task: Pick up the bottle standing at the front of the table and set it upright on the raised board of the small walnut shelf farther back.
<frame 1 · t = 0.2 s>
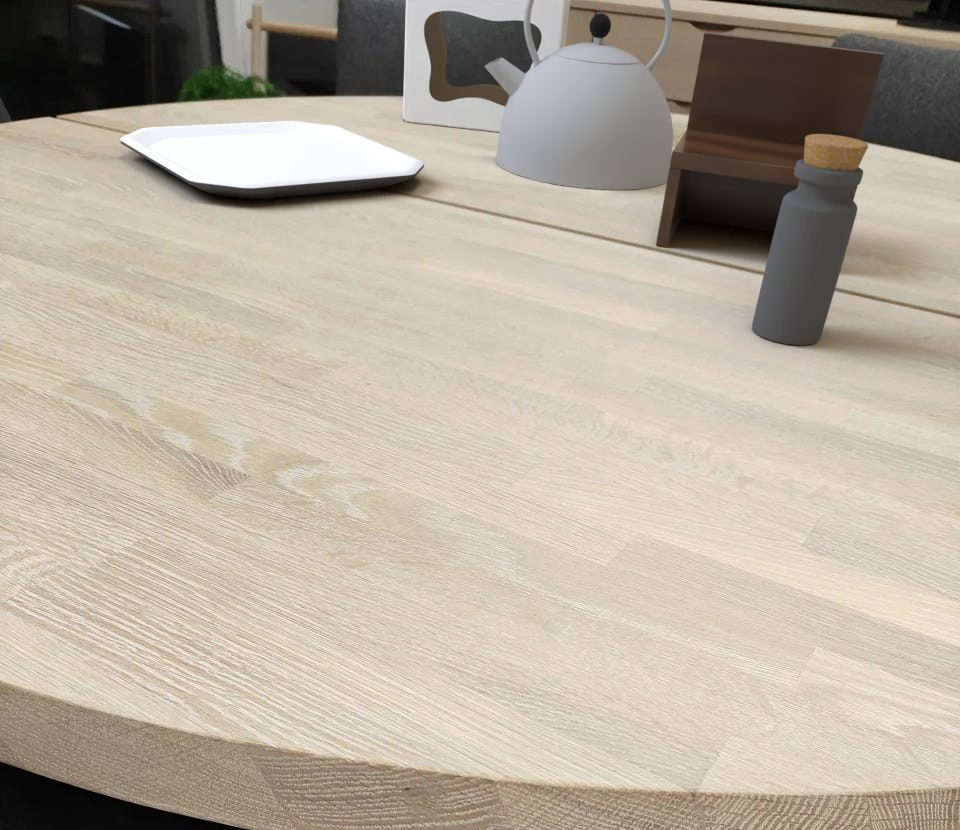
shelf: (747, 241, 107), on the table
bottle: (784, 335, 85), on the table
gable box: (481, 123, 150), on the table
plate: (274, 171, 117), on the table
kettle: (573, 168, 130), on the table
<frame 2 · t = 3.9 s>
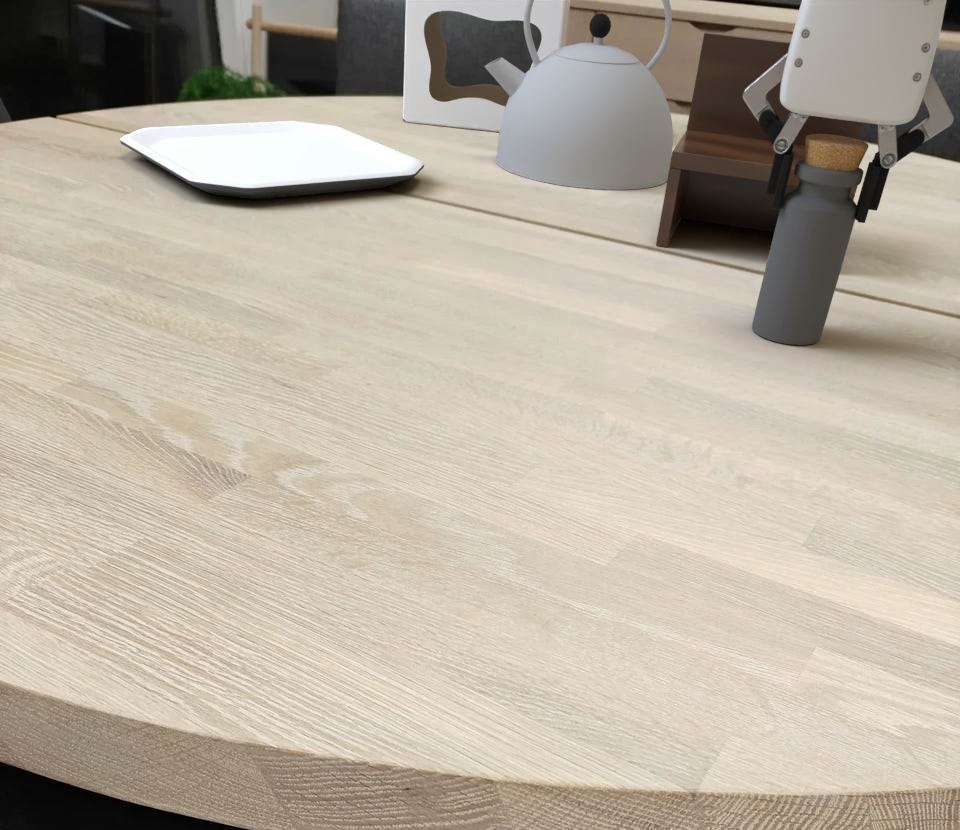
hand: (818, 210, 79), 10 cm above the table, tool pointing down, fingers closed on bottle, 5 cm apart
bottle: (784, 335, 85), on the table, touching gripper
everything else where it was.
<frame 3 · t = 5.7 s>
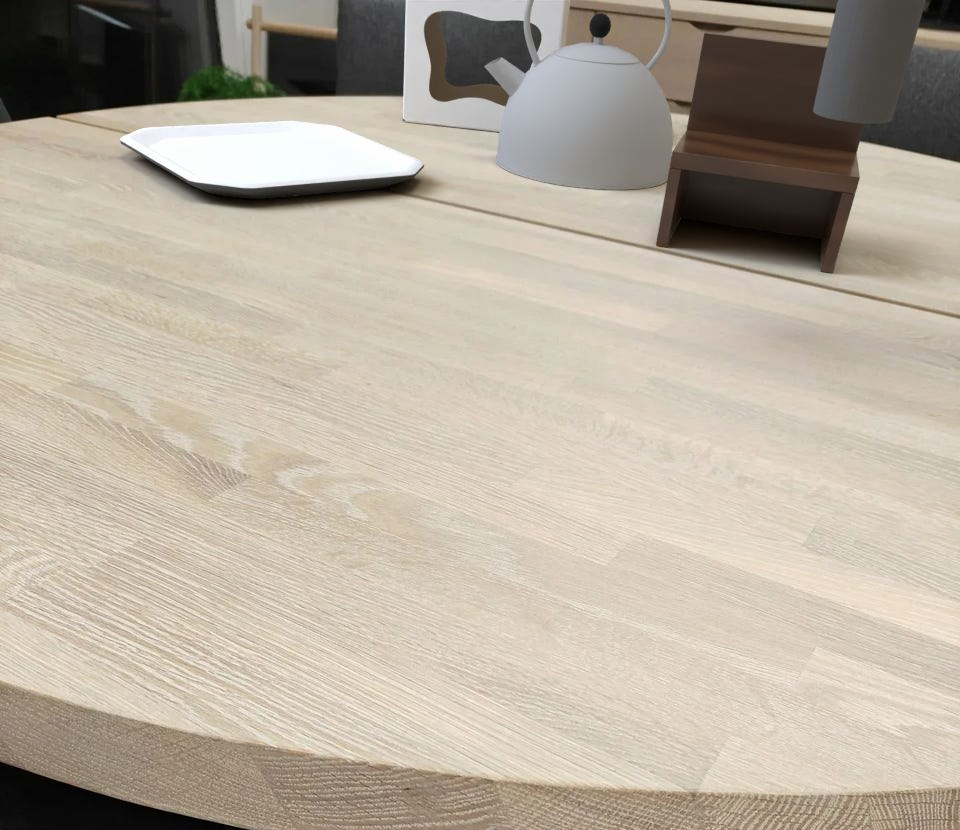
bottle: (851, 119, 75), point 16 cm above the table, touching gripper
everything else where it was.
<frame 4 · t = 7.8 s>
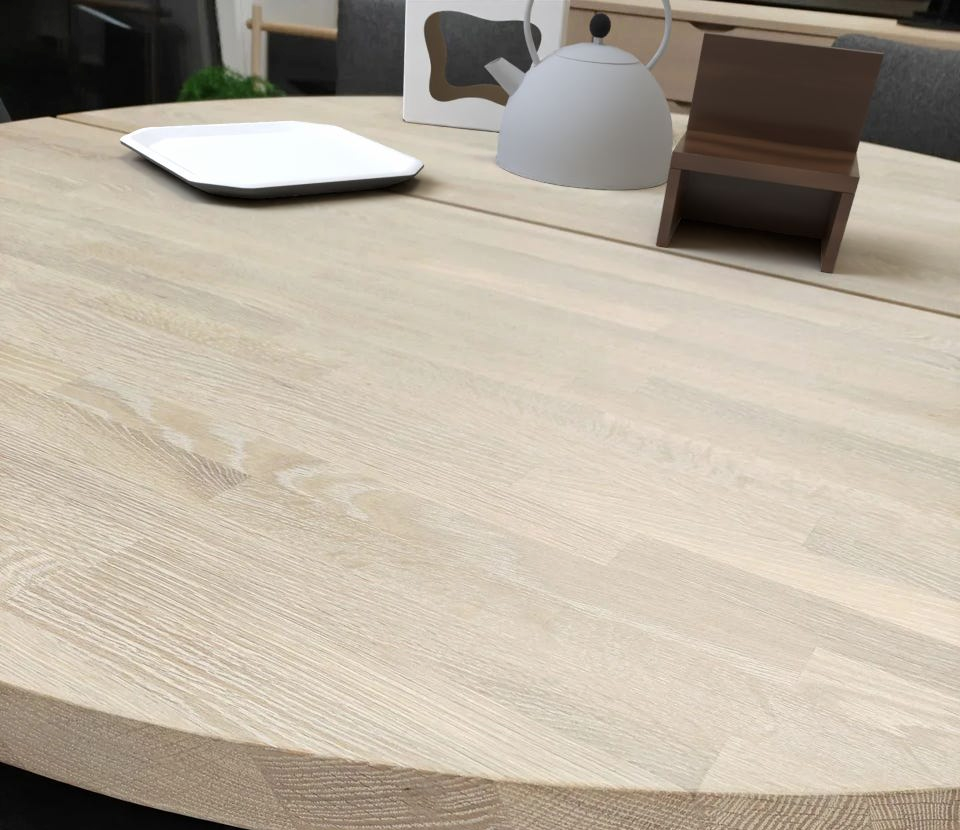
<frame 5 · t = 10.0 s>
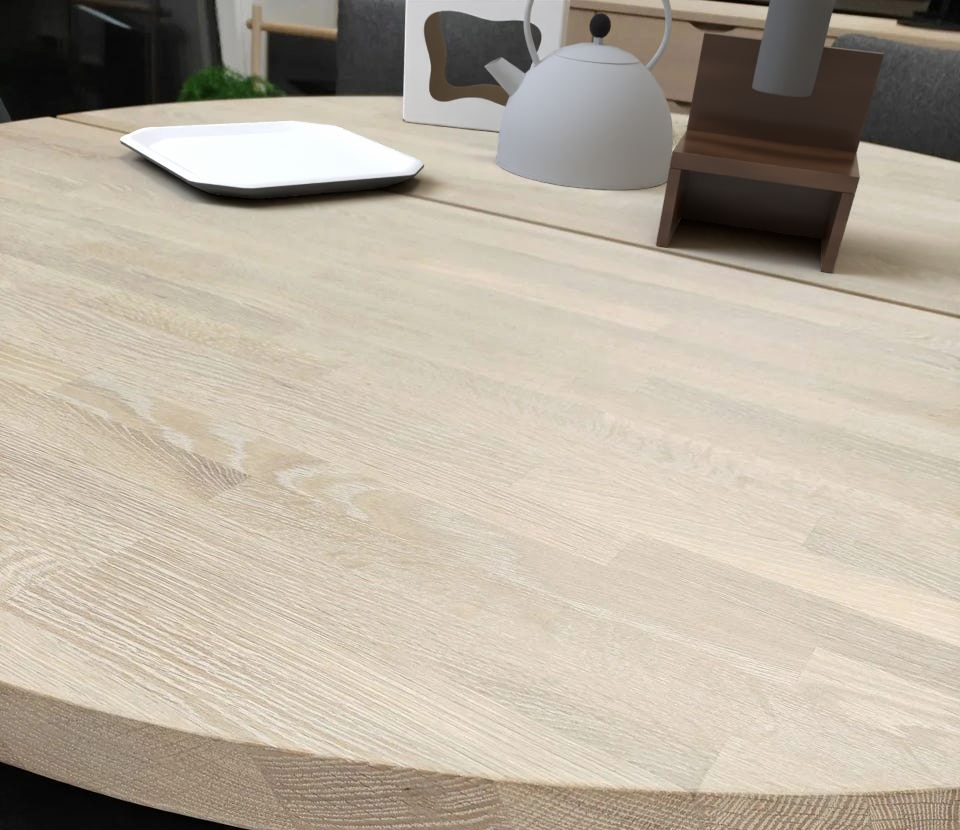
bottle: (780, 93, 98), point 14 cm above the table, touching gripper
everything else where it was.
when the fingers open (19 cm above the table, at t = 11.8 s): bottle stays where it is, resting on shelf.
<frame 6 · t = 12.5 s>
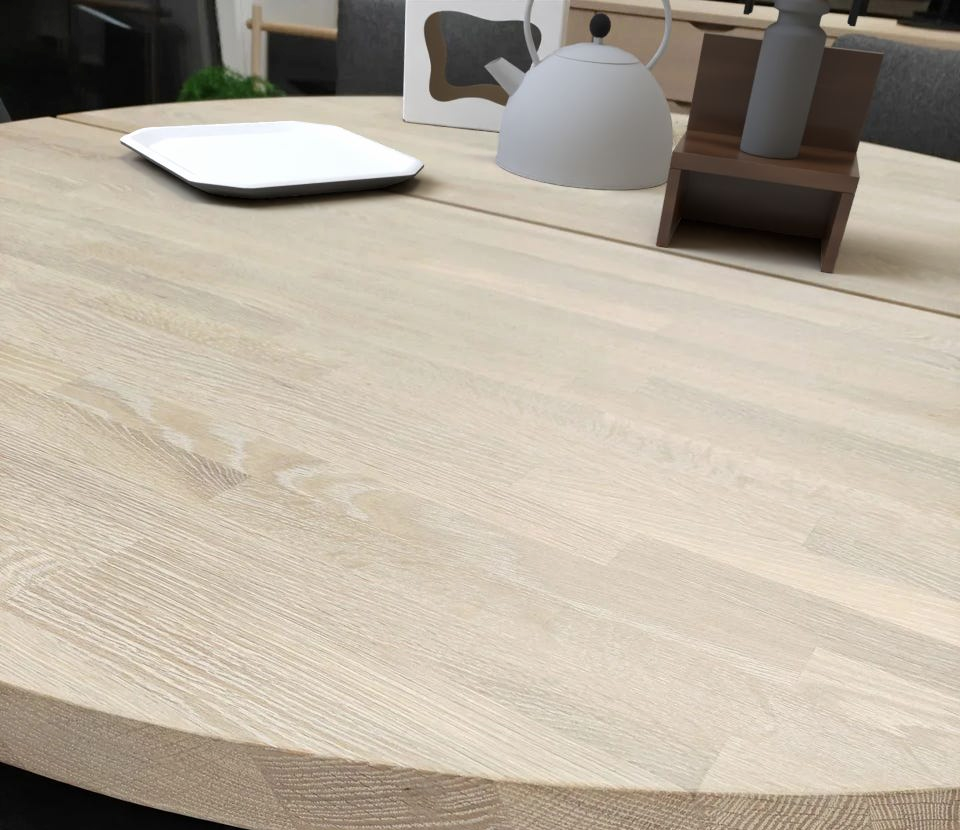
hand: (798, 19, 94), 21 cm above the table, tool pointing down, fingers open, 9 cm apart
bottle: (767, 154, 101), point 9 cm above the table, touching shelf
everything else where it was.
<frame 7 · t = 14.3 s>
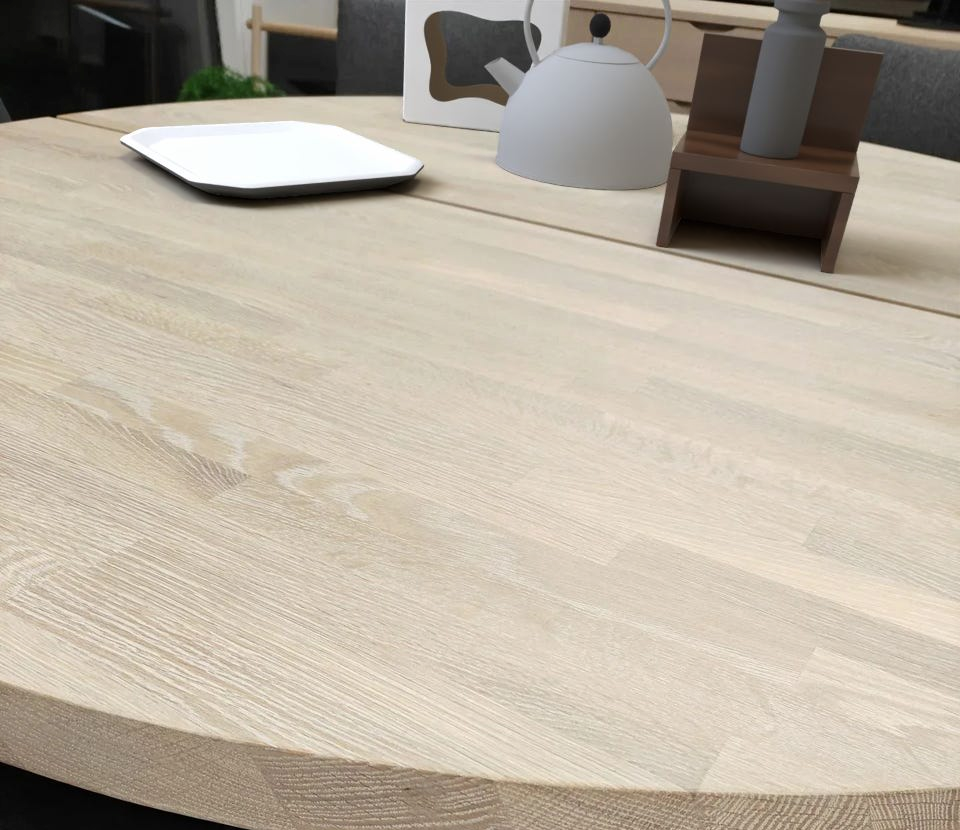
nothing on the table moved.
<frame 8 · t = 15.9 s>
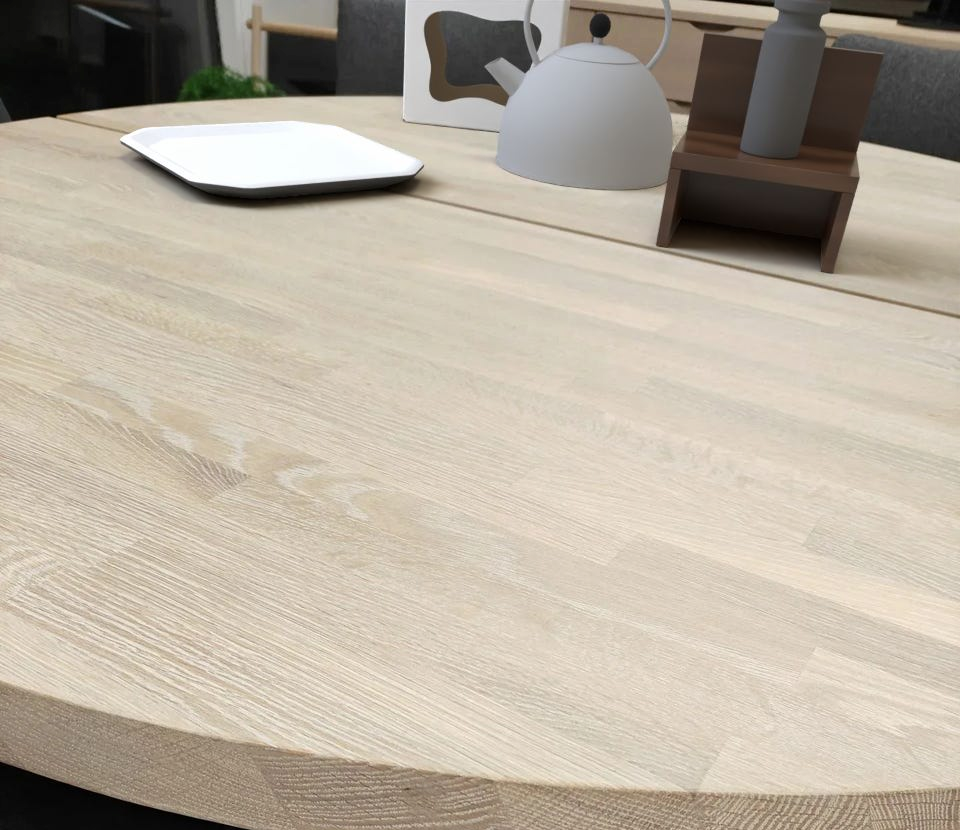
nothing on the table moved.
at the end: bottle inside the target area on the shelf (0.8 cm from its centre), point 8.8 cm above the shelf's base; bottle tilted 0°; the gripper is holding nothing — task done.
